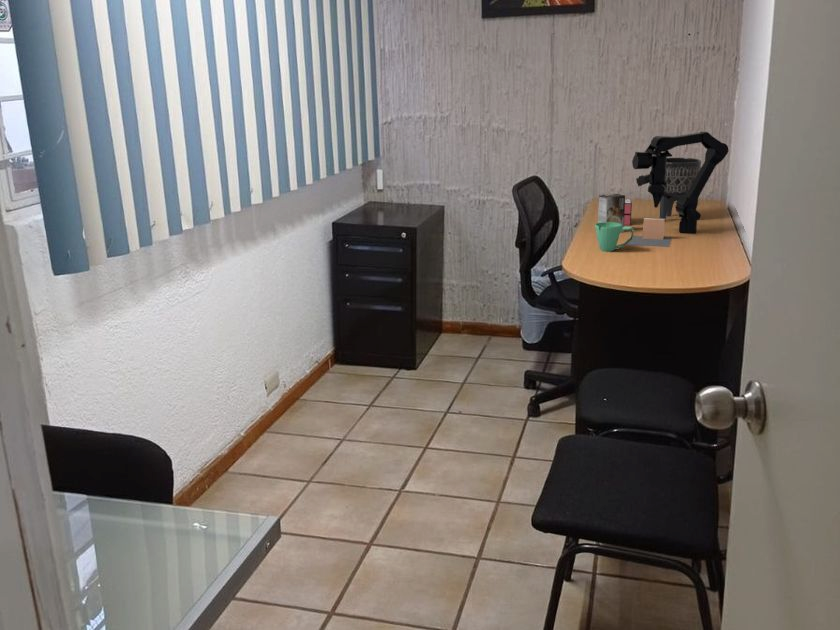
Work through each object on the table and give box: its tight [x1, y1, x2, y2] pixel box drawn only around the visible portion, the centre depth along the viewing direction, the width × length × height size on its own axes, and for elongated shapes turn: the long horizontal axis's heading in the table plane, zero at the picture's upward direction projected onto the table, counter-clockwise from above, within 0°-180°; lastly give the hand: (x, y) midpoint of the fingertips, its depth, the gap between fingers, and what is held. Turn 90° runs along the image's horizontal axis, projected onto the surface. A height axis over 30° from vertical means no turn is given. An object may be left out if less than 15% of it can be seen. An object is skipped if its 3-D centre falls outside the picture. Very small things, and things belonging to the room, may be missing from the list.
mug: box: [594, 222, 635, 253], centre depth 311 cm, size 15×10×10 cm
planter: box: [659, 157, 702, 222], centre depth 363 cm, size 20×20×26 cm
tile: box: [642, 217, 666, 240], centre depth 327 cm, size 8×2×8 cm, turn 71°
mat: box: [626, 235, 673, 248], centre depth 324 cm, size 16×18×1 cm
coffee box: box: [597, 193, 626, 233], centre depth 341 cm, size 9×6×16 cm
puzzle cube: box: [624, 198, 633, 226], centre depth 361 cm, size 10×10×10 cm
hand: (656, 206), depth 333 cm, fingers open, 4 cm apart
